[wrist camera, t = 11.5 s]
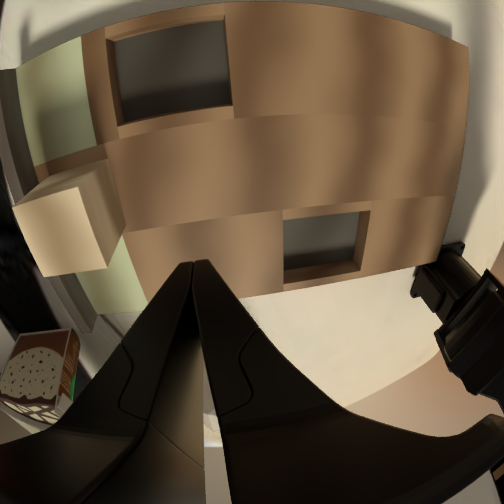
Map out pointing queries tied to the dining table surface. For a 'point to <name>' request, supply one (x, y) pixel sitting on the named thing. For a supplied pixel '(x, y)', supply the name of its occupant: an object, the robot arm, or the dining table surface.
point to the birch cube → (72, 220)
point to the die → (209, 406)
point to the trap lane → (247, 144)
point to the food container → (40, 377)
